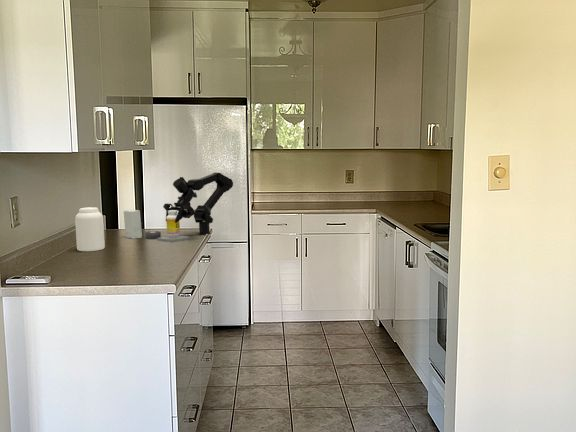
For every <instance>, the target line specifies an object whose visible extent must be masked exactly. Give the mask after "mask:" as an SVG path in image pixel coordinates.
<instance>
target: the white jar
mask: <svg viewBox="0 0 576 432" xmlns="http://www.w3.org/2000/svg"><path fill="white" fill-rule="evenodd" d="M74 221H75V223H74V225H75V226H74V227H75V238H76V249H77V251H79V252H82V253H83V252H85V253H86V252H97V251H101V250H104V249H105V247H106V244H105V227H104V226H105V225H104V216H103V213H101V211H99V207H95V206H89V207H81V208H79V210H78V213H77V214H76V215H75V218H74Z"/></svg>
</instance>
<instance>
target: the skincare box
mask: <svg viewBox="0 0 576 432" xmlns="http://www.w3.org/2000/svg"><path fill="white" fill-rule="evenodd" d="M123 219H124V231H125V238H128V239H132V240H133V239H141V238H143V231H142V222H141V221H142V220H141V211H140V210H139V209H129V210H123Z"/></svg>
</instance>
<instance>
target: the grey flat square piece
mask: <svg viewBox="0 0 576 432" xmlns="http://www.w3.org/2000/svg"><path fill="white" fill-rule="evenodd" d="M190 239H191V236H186V235H180V234H179V235H177V236H168V235H165V236H161V237H159V238H157V239H156V241H159V242H160V241H161V242H166V243H167V242H169V243H175V242H176V243H177V242H181V241H185V240H187V241H188V240H190Z"/></svg>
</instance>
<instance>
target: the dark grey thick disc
mask: <svg viewBox="0 0 576 432" xmlns="http://www.w3.org/2000/svg"><path fill="white" fill-rule="evenodd" d="M144 234H145V235H144V237H145V239H146V240H157V238H159V237H162V233H161V231H157V230H153V231H146V232H145V233H144Z"/></svg>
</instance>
